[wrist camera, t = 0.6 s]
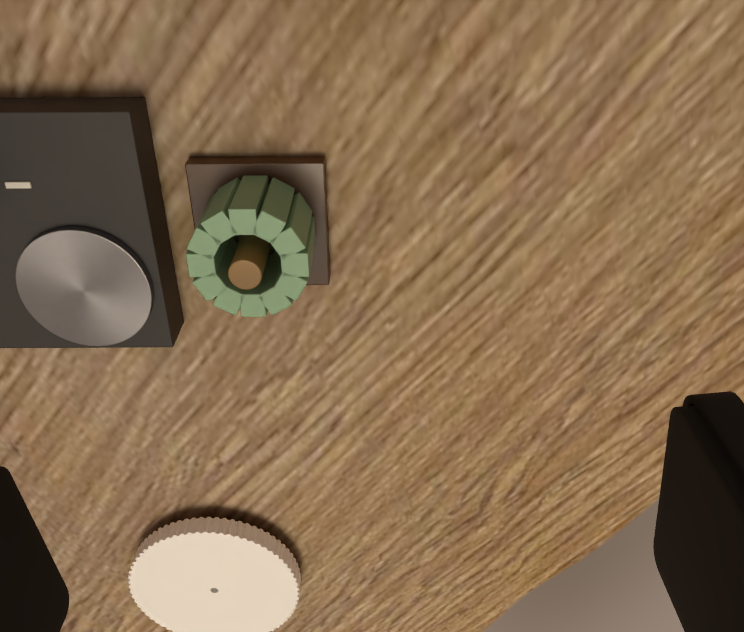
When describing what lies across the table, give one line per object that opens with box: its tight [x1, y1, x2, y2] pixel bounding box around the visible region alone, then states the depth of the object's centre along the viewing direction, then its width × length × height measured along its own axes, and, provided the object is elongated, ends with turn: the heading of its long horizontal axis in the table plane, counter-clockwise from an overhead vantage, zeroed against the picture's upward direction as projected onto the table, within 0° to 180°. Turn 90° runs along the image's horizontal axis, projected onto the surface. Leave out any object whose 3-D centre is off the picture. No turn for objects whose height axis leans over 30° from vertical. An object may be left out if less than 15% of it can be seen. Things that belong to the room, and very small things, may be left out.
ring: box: [186, 175, 316, 317], centre depth 40 cm, size 7×7×5 cm
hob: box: [0, 97, 184, 348], centre depth 42 cm, size 15×15×3 cm
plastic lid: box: [128, 517, 301, 632], centre depth 59 cm, size 14×14×2 cm
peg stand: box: [185, 157, 330, 290], centre depth 40 cm, size 8×8×7 cm
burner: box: [15, 226, 154, 346], centre depth 42 cm, size 8×8×1 cm
